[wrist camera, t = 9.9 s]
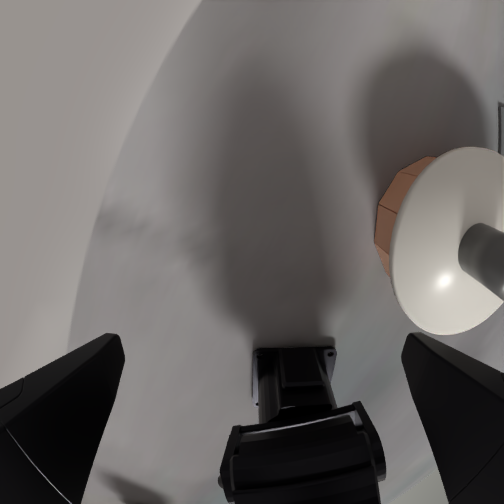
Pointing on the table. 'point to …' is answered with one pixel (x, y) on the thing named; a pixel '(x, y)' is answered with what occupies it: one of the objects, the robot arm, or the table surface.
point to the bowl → (394, 206)
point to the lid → (451, 242)
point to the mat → (501, 131)
